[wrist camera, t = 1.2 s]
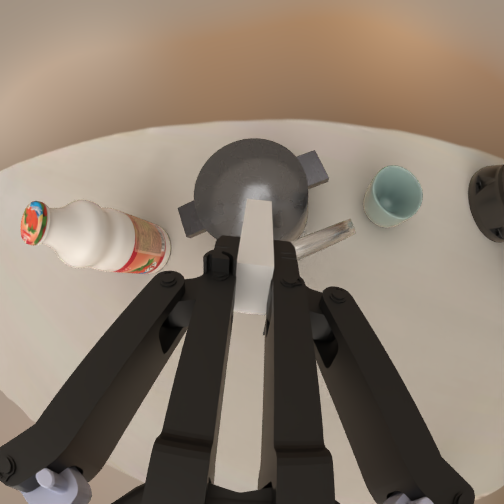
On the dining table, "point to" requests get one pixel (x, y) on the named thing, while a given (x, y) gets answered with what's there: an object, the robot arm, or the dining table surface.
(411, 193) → the cup
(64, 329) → the dining table surface
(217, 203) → the cooker pot
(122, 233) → the fruit juice
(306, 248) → the lid
